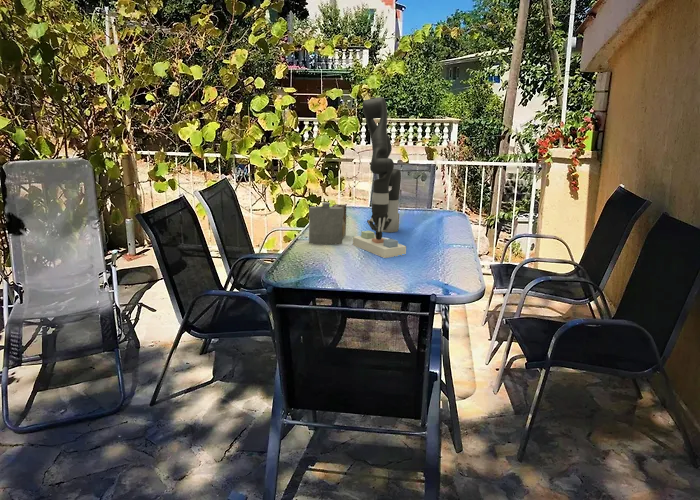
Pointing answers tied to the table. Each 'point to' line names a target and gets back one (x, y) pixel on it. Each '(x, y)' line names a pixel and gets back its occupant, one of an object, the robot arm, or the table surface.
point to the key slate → (390, 243)
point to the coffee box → (343, 219)
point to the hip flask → (325, 224)
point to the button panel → (378, 247)
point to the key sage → (367, 234)
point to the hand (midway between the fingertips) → (378, 239)
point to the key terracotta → (378, 240)
